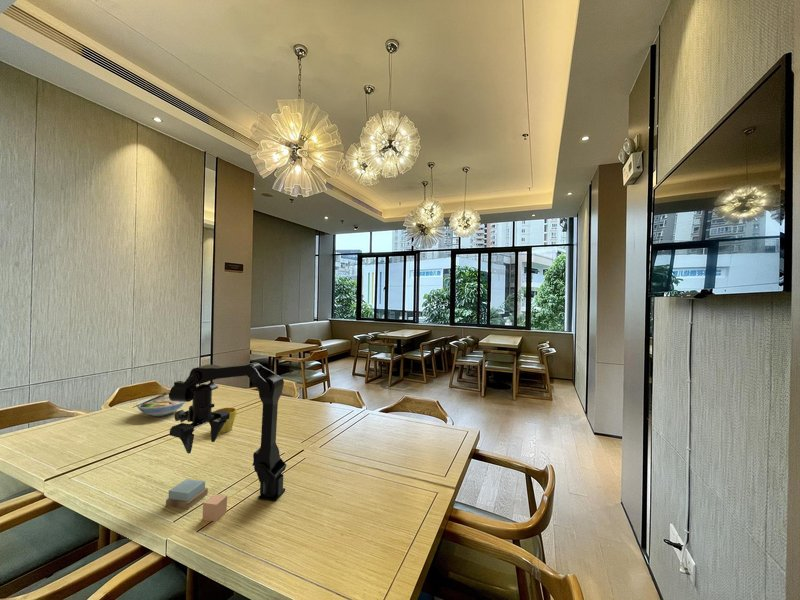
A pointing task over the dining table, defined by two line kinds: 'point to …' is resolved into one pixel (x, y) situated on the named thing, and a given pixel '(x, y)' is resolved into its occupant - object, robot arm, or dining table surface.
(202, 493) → the walnut slab
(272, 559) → the dining table surface
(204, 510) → the clay block
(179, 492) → the blue slab
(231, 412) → the plant pot
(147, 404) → the ramen bowl
